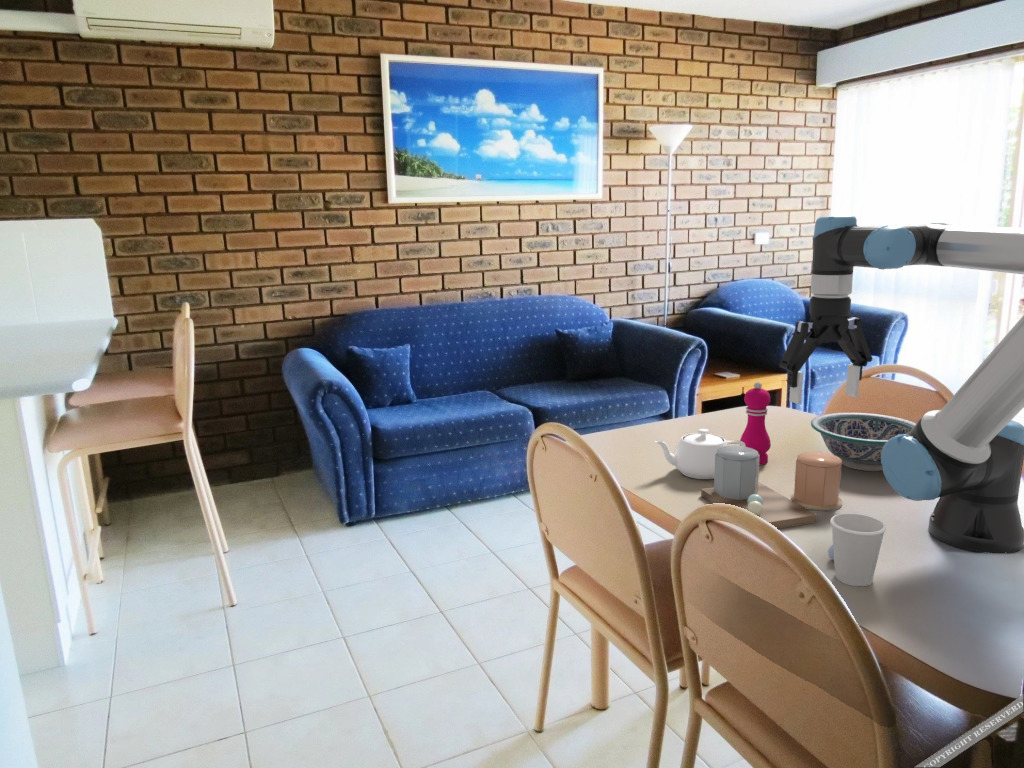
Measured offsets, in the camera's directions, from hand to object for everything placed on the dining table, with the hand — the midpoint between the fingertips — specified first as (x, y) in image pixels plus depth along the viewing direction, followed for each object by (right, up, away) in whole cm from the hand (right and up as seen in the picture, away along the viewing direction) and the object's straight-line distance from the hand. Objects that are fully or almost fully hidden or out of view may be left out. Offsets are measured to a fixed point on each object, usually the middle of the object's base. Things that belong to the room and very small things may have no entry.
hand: (823, 399), depth 150 cm
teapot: (-19, -18, +24) cm, 36 cm away
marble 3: (-7, -28, -21) cm, 36 cm away
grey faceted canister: (-16, -20, +7) cm, 27 cm away
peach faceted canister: (+1, -21, +5) cm, 22 cm away
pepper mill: (-4, -16, +31) cm, 35 cm away
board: (-13, -23, +2) cm, 26 cm away
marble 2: (-14, -22, -5) cm, 27 cm away
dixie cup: (-7, -30, -27) cm, 41 cm away
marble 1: (-13, -21, -2) cm, 25 cm away
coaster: (+1, -22, +5) cm, 22 cm away
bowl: (+21, -16, +27) cm, 38 cm away
